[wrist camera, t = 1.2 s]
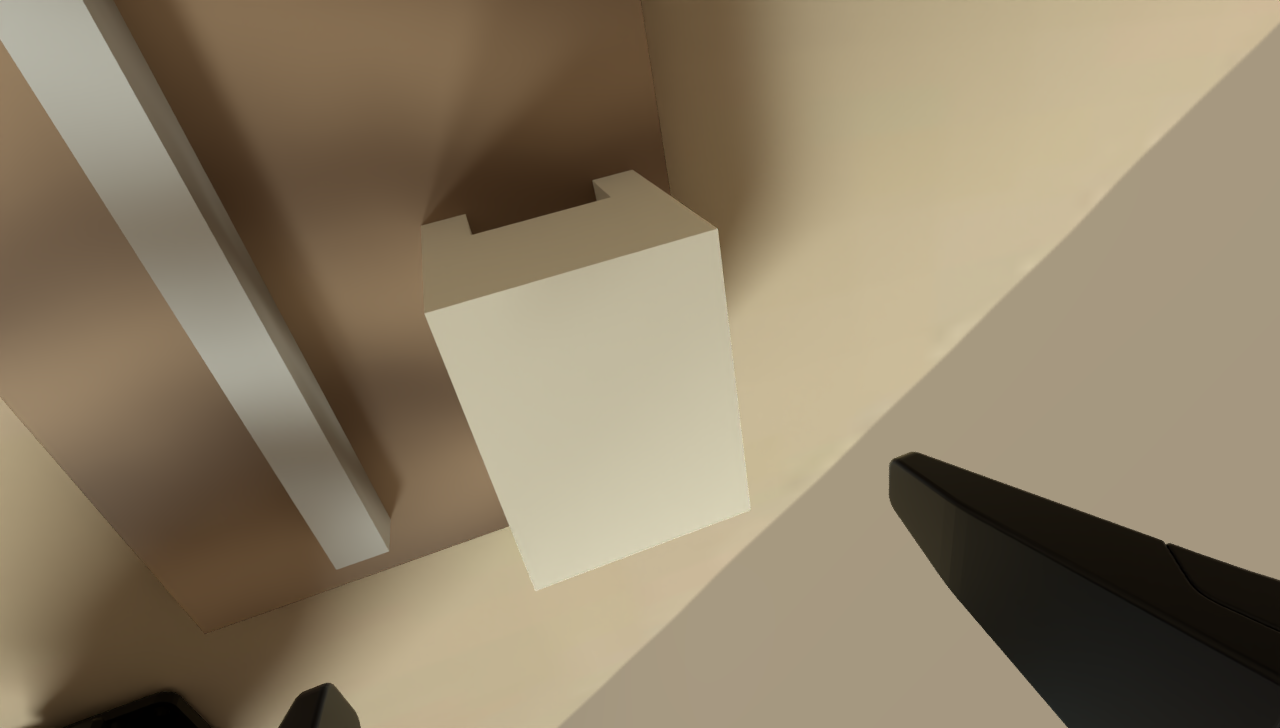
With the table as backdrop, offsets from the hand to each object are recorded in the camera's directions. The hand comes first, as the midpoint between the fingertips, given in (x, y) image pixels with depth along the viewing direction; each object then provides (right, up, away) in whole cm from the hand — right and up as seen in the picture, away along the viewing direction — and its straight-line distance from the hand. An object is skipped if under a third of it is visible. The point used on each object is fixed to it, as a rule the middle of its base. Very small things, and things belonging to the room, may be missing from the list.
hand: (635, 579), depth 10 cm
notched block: (-2, +5, +10) cm, 11 cm away
